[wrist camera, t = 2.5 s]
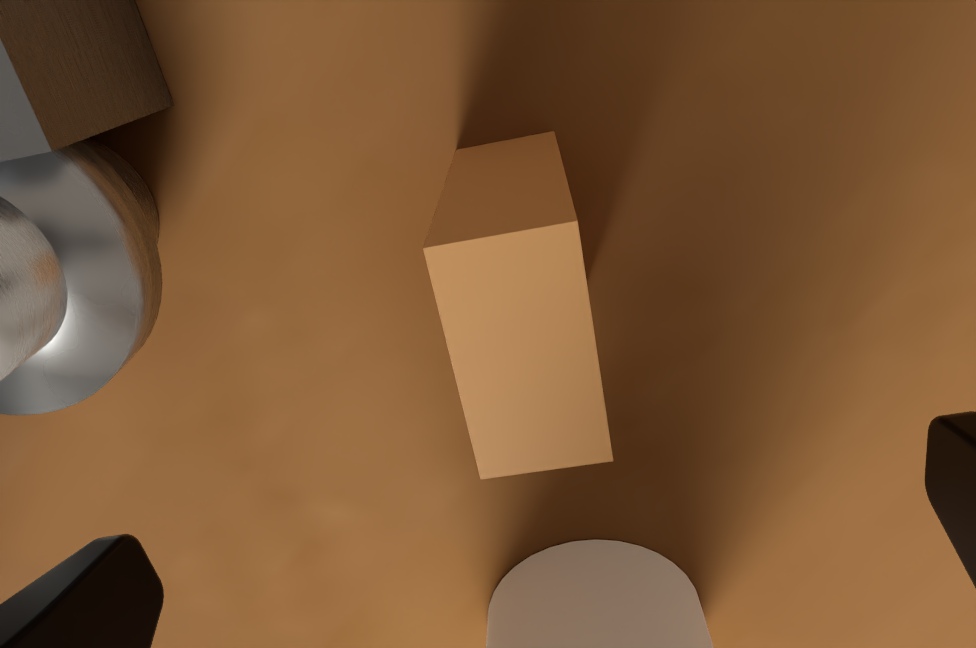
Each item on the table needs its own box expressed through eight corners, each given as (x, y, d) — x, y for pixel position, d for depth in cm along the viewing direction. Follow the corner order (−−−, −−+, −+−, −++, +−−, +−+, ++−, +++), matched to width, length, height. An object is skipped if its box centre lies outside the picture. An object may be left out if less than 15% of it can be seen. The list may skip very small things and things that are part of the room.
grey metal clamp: (542, 259, 18) (554, 376, 13) (22, 348, 20) (-158, 485, 15) (408, -507, 12) (328, -879, 7) (-320, -287, 14) (-840, -452, 9)
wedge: (580, 300, 19) (613, 461, 13) (491, 315, 19) (480, 479, 13) (554, 130, 17) (577, 221, 11) (456, 149, 17) (423, 248, 11)
